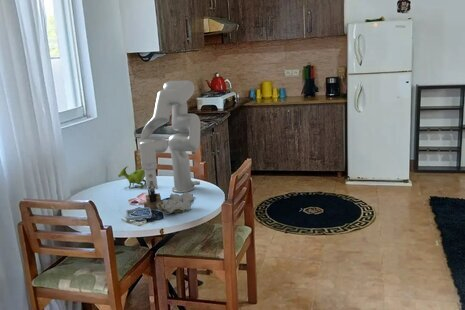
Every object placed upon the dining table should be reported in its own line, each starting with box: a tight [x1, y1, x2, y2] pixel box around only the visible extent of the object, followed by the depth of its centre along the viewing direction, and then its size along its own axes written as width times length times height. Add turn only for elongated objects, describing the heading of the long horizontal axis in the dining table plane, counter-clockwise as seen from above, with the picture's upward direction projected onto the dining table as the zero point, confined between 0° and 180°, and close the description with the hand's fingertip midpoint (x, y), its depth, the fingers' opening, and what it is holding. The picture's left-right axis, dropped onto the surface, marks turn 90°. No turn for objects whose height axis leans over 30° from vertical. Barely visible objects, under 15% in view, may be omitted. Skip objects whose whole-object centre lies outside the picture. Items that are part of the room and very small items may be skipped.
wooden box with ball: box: [143, 192, 162, 211], centre depth 229 cm, size 8×7×6 cm
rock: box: [156, 192, 195, 215], centre depth 221 cm, size 19×11×10 cm, turn 129°
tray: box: [125, 207, 153, 223], centre depth 218 cm, size 12×12×2 cm
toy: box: [117, 166, 146, 189], centre depth 267 cm, size 8×21×15 cm, turn 82°
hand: (152, 199), depth 228 cm, fingers open, 9 cm apart
